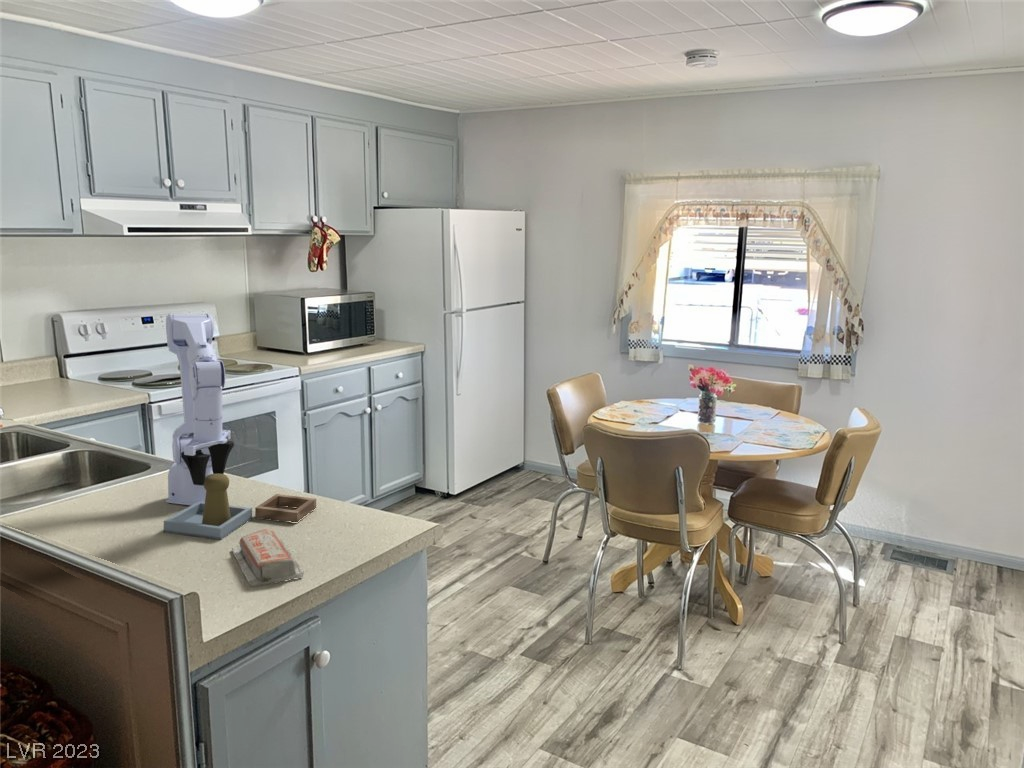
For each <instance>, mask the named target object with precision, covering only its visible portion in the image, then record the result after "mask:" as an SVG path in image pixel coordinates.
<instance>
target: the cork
mask: <svg viewBox="0 0 1024 768" xmlns="http://www.w3.org/2000/svg"><path fill="white" fill-rule="evenodd" d="M229 485H230V478H229V477H228V475H226V474H210V475H208V476H206V477H205V483H204V488H205V489H206V497H205V505H204V512H203V520H202V524H205V525H213V526H220V525H222V524H223V523H225V522H226V521H228V520H229V519H231V515H230V509H229V505H230V504H229V496H228V489H229Z"/></svg>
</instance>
